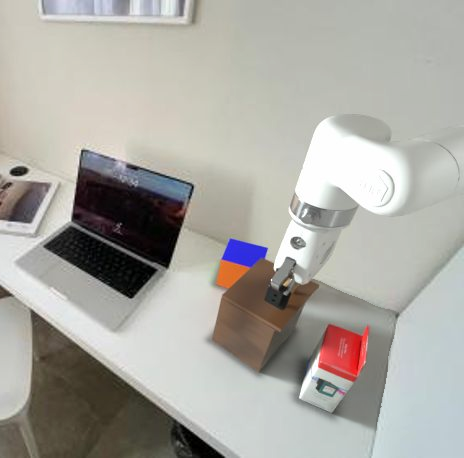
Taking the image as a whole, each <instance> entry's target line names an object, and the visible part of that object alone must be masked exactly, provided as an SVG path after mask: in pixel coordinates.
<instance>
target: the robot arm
mask: <svg viewBox="0 0 464 458" xmlns="http://www.w3.org/2000/svg"><path fill="white" fill-rule="evenodd" d="M391 139H392V130H391V127H390V125H389V124H388V123H386V122H385V121H384V120H381V119H380V118H377V117H373V116H370V115H365V114H357V113H340V114H335V115H330V116H328V117H327V118H324V119H323V120H322V121H321V122H319V124H318V125H317V126H316V129H315V130H314V133H313V135H312V138H311V142H310V145H309V148H308V151H307V154H306V157H305V160H304V163H303V165H302V169H301V171H300V174H299V176H298V177H299V178H298V181H297V184H296V186H295V189H294V191H293V195H292V199H291V202H290V205H289V207H288V213H289V215H290V216H291V220H290V223H289V225H288V228H286V232H285V235H284V236H283V240H282V241H281V244H280V247H279V250H278V252H277V254H276V257H275V260H274V270H275V272H276V274H275V275H274V277H273V278H272V280H271V282H270V284H269V287H268V289H267V292H266V295H265V298H264V300H265V301H266V302H268V303H269V304H271V305H273V306H275V307H277V308H278V309H280V310H284V309H285V308H286V306H287V304H288V301H289V299H290V297H291V294H292V293H291V292H290V291H291V289H292V287H293V286H294V284H295V283H296V282H297V283H300V284H301V285H304V284H307V283H308V282H309V281H312V280H313V279H314V277H315V276H316V275H317V274H318V273H319V272H320V271H321V270H322V269H323V267H324V266H325V265H326V264H327V262H328V261H329V260H330V258H331V257H332V256H333V253H334V250H335V247H336V245H337V243H338V240H339V238H340V235H341V233H342V231H343V230H344V229H346V228H348V227H350V225H351V223H352V221H353V219H354V218H355V215H356V213H357V211H358V209H359V207H360V206H361V207H362V208H364V209H365V210H367V211H369V212H371V213H373V214H375V215H378V216H381V217H390V218H393V217H394V218H395V217H403V216H407V215H410V214H413V213H416V212H419V211H422V210H425V209H427V208H429V207H432V206H434V205H438V204H439V203H442V202H445V201H447V200H451V199H453V198H456V197H458V196H462V195H464V124H458V125H453V126H450V127H445V128H441V129H438V130H434V131H431V132H427V133H424V134H421V135H418V136H415V137H411V138H408V139H405V140H404V139H403V140H394V141H391ZM290 272H293V273H294V276H293V275H291V274H289V273H290ZM286 277H288V278H290V279H291V281H290V282H289V284H288V286H287V287H286V286H284V285H283V283H284V280H285V279H286Z"/></svg>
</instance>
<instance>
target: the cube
mask: <svg viewBox="0 0 464 458" xmlns="http://www.w3.org/2000/svg"><path fill="white" fill-rule="evenodd" d="M268 251H269V247H266V246H263V245H259V244H254V243H251V242H247V241H242V240H238V239H235V238H231V237H230V238H229V239H228V242H227V245H226V247H225V249H224V252H223V255H222V257H221V259H220V263H219V268H218V273H217V278H216V283H215V285H216V286H219V287H222V288H226V289H229V288H230V287H231V286H232V285H233V284H234V283H235V282H236V281H237V280H238V279H239V278H240V277H241V276H243V275H244V274H245V273H246V272H247V271H248V270H249V269H250V268H251V267H252V266H253V265H254V264H255V263H256V262H257V261H258V260H259V259H261V258H264V259H266V257H267V253H268Z"/></svg>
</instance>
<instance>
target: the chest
mask: <svg viewBox="0 0 464 458" xmlns="http://www.w3.org/2000/svg"><path fill="white" fill-rule="evenodd" d="M305 306H306V303H305V304H304V305H303V307H302V308H301V309H300V310H299V311H298V313H297V314H296V315H295V316H294V317H293V318H292V320H291V321H290V322H289V323H288V324H287V325H286V327H285V328H284V329H283V330H282V331H281V332H279V331H277V330H275V329H274V328H272V327H270V326H269V325H267V324H265V323H264V322H262V321H260V320H258V319H257V318H255V317H253V316H252V315H250V314H248V313H247V312H245V311H243V310H241V309H240V308H238V307H236V306H235V305H233V304H231V303H230V302H228V301H226V300H225V299H223V298H222V297H221V298H220V301H219V306H218V309H217V311H218V312H217V315H216V319H215V323H214V328H213V333H212V337H211V341H212V342H214V343H215V344H216V345H218V346H219V347H221V348H223V350H225V351H226V352H228V353H230V354H231V355H232V356H234V357H235V358H237V359H238V360H240V361H241V362H243V363H244V364H245V365H247V366H248V367H250V368H252V370H254V371H256V372H257V373H259V372H260V371H262V369H263V367H264V366H266V364H267V362H269V360H270V359H271V358H272V357H273V355H274V354H275V353H276V352H277V350H278V349H279V348H280V347H281V346H282V344H283V343H284V342H285V341H286V340H287V338H288V337H289V336H290V335H291V334H292V332H294V330H295V328H296V326H297V323H298V321H299V319H300V317H301V314H302V312H303V310H304V308H305Z"/></svg>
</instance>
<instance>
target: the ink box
mask: <svg viewBox="0 0 464 458" xmlns="http://www.w3.org/2000/svg"><path fill="white" fill-rule="evenodd" d="M370 327H371V326H370V324H367V325H366V327H365V329H364V331H363V334H359V333H357V332H354V331H352V330H349V329H346V328H343V327H340V326H337V325H334V324H331V323H328V324H327V325H326V328H325V330H324V332H323V333H322V335H321V337H320V339H319V340H318V343H317V344H316V346H315V348H314V349H313V351H312V353H311V355H310V357H309V359H308V360H307V361H306V362H307V363H306V366H305V371H304V375H303V379H302V384H301V389H300V393H299V400H301V401H303V402H305V403H308V404H309V405H312V406H314V407H317V408H319V409H321V410H323V411H327V412H328V413H331V414H332V413H333V412H334V411H335V409H336V408H337V407H338V405H339V404H340V403H341V401H342V400H343V399H344V397H345V396H346V394H347V393H348V392H349V391H350V389H351V388H352V387H353V385H354V383H355V382H356V381H357V380H358V378H359V376H360V374H361V373H362V372H363V370H364V368H365V367H366V363H367V356H368V348H369V347H368V346H369V339H370V338H369V337H370Z"/></svg>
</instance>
